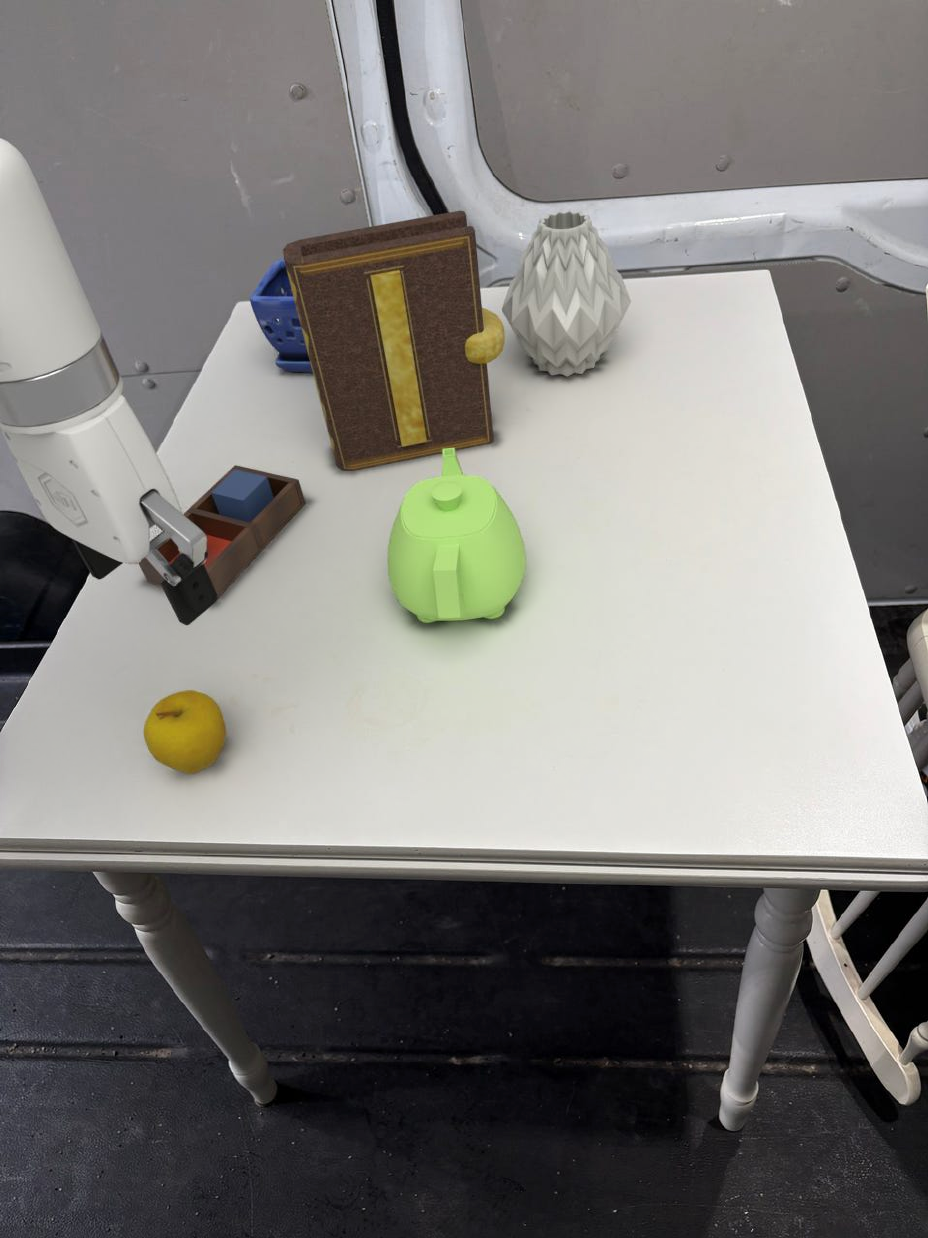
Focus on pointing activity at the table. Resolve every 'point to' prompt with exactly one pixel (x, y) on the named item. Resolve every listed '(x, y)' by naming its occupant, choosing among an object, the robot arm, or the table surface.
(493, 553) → the teapot
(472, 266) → the book
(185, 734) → the apple
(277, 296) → the flower pot
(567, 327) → the vase
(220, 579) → the tray
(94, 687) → the table surface
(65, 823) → the table surface
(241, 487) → the blue block
